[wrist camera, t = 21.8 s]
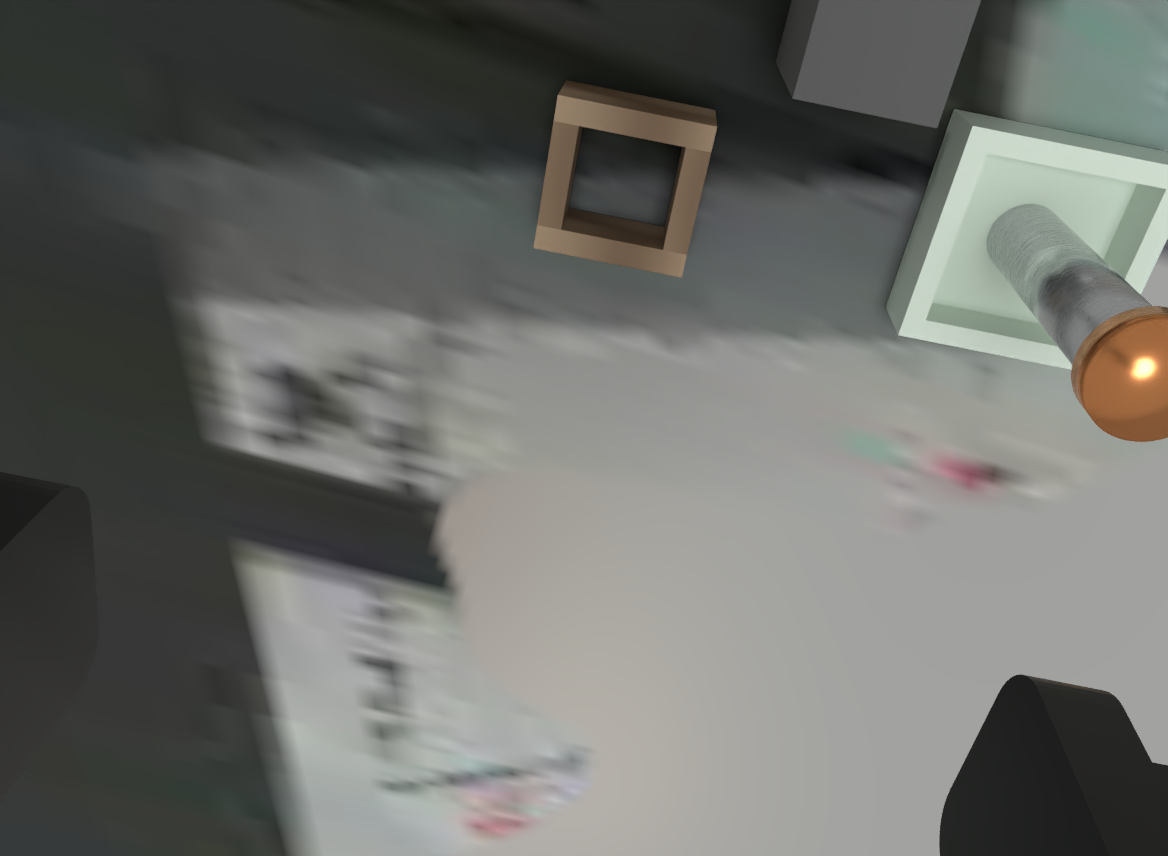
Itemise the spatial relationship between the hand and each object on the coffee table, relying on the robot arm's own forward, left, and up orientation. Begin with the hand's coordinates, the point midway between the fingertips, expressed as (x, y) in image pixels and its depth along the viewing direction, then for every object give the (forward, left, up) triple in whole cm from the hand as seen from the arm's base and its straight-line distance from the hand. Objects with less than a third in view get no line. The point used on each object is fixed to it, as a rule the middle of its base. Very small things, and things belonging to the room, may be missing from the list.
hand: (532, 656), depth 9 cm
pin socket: (0, -3, -28) cm, 28 cm away
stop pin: (+14, -2, -28) cm, 31 cm away
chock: (+6, +4, -28) cm, 29 cm away
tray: (+14, -2, -28) cm, 31 cm away
